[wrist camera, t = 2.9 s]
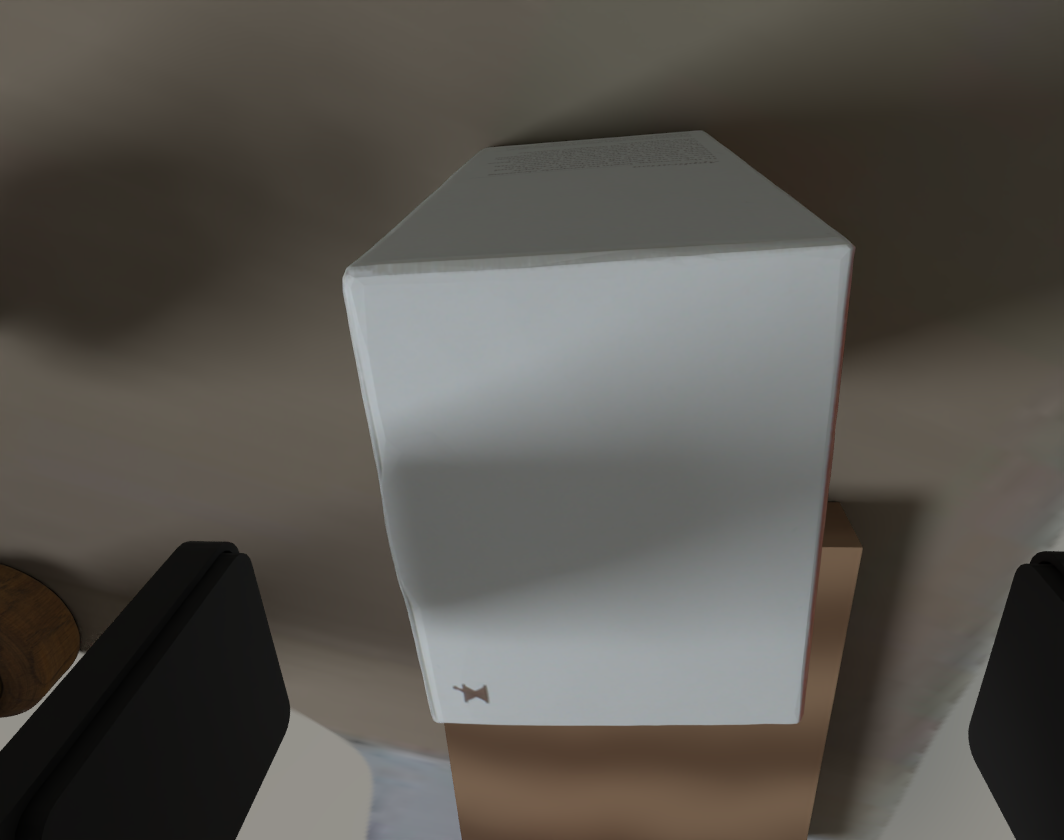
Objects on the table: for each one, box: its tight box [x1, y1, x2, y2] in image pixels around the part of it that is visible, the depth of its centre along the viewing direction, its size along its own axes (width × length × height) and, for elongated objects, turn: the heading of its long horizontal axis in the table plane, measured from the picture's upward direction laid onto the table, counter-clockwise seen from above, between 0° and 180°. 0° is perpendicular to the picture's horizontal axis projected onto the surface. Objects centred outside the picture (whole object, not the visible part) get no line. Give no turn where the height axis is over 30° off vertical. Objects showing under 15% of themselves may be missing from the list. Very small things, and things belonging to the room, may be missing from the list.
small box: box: [342, 130, 856, 726], centre depth 16 cm, size 8×6×13 cm
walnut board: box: [444, 502, 863, 840], centre depth 28 cm, size 18×14×2 cm
